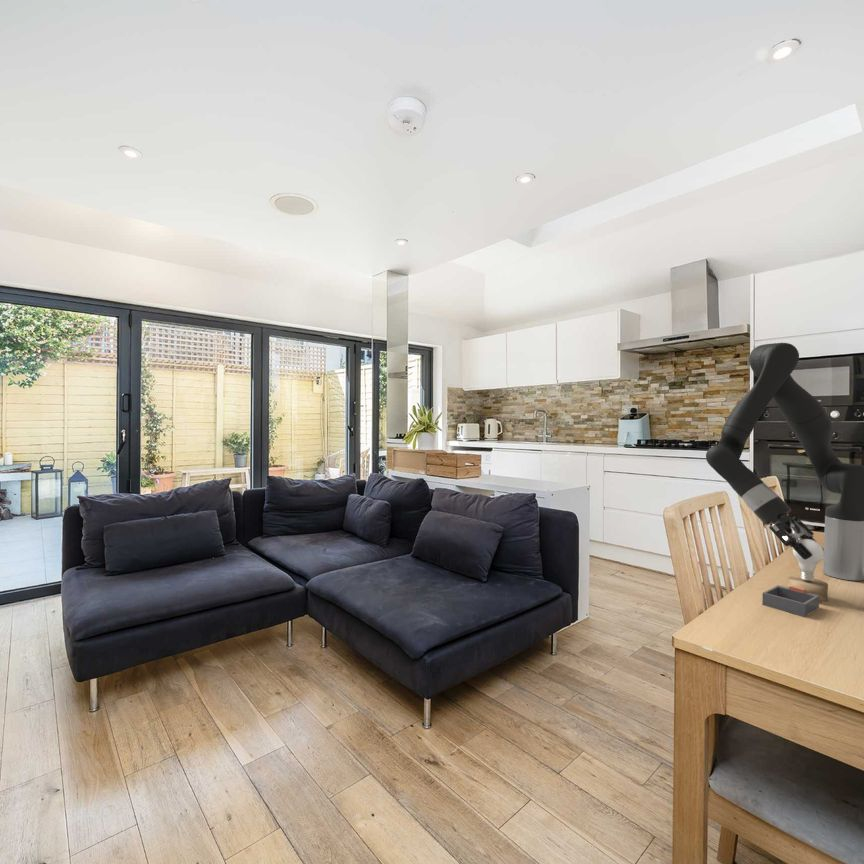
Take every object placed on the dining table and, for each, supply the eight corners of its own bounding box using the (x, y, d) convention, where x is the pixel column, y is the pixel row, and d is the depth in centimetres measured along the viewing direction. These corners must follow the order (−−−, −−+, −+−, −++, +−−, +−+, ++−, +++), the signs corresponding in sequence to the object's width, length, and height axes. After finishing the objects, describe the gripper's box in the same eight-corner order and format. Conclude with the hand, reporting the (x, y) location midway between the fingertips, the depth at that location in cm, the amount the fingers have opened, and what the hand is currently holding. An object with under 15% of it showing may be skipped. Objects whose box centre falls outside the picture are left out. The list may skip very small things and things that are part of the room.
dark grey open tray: (777, 596, 123) (778, 582, 122) (818, 607, 116) (819, 592, 115) (762, 604, 117) (762, 589, 117) (804, 617, 110) (805, 600, 110)
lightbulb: (828, 586, 119) (830, 543, 119) (800, 584, 120) (801, 541, 120) (813, 578, 125) (814, 536, 125) (786, 576, 126) (787, 535, 126)
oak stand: (794, 588, 129) (795, 574, 128) (831, 598, 122) (832, 582, 122) (783, 594, 124) (783, 579, 124) (821, 604, 117) (821, 589, 117)
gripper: (766, 497, 124) (818, 551, 115) (787, 493, 132) (837, 543, 123) (743, 514, 129) (791, 567, 120) (764, 508, 137) (811, 558, 128)
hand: (815, 555), depth 122 cm, fingers open, 8 cm apart
